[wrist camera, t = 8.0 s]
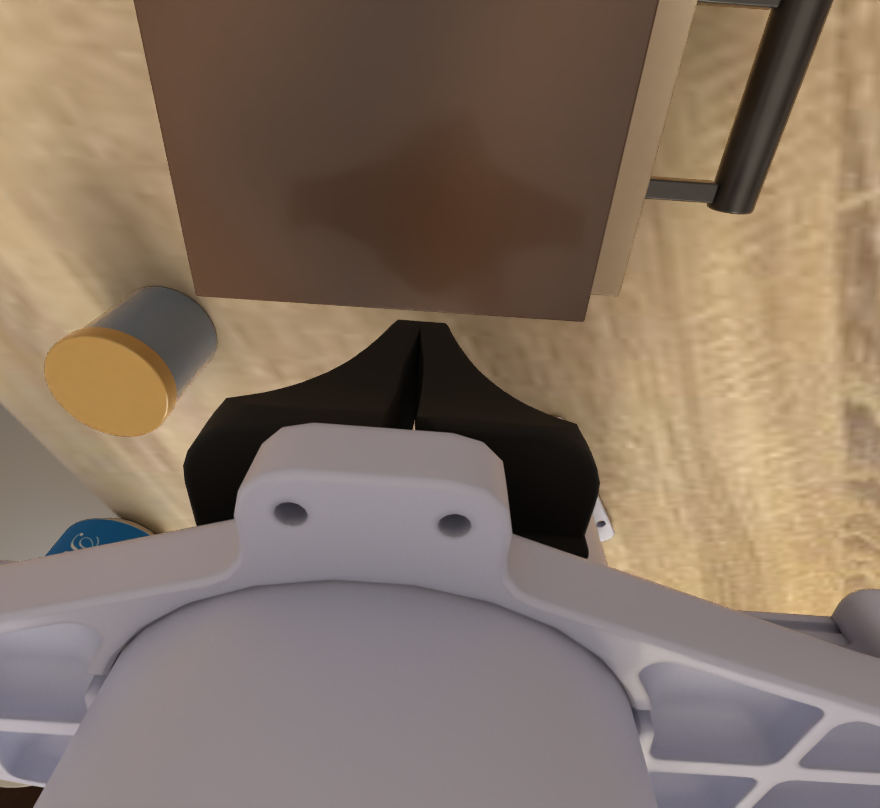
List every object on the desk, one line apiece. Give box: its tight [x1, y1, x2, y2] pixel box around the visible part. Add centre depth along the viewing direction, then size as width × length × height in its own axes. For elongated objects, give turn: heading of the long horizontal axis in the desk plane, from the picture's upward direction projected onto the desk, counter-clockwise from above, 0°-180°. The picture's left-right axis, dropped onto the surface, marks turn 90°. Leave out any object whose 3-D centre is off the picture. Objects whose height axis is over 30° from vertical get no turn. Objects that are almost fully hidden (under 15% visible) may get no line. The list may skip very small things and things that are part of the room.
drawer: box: [590, 0, 833, 296], centre depth 16 cm, size 16×11×5 cm
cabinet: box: [134, 0, 659, 322], centre depth 16 cm, size 12×12×6 cm
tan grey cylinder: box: [44, 287, 217, 437], centre depth 22 cm, size 5×5×5 cm
